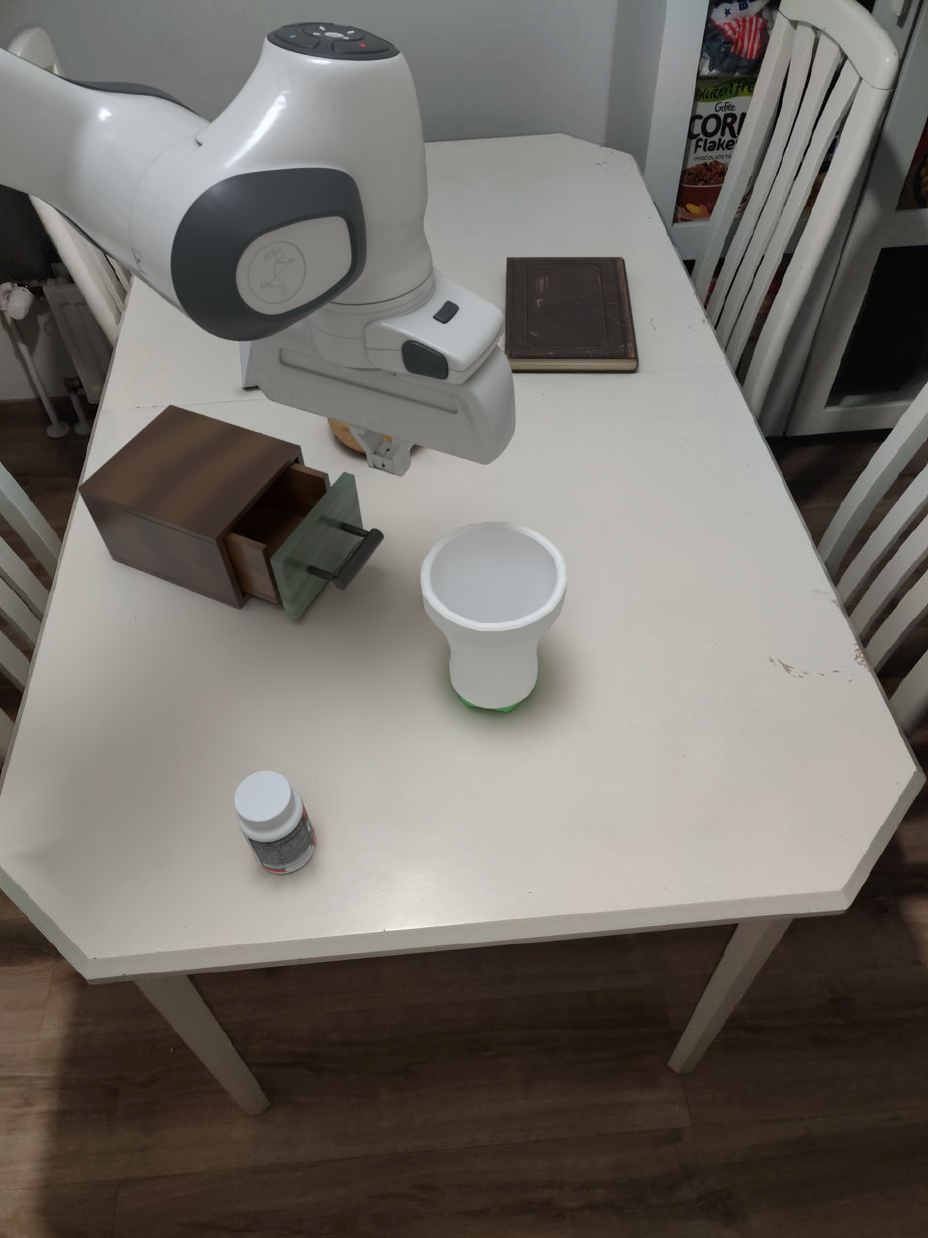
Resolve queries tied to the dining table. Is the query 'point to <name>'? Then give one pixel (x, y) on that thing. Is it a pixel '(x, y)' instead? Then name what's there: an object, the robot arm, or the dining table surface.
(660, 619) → the dining table surface
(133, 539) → the cabinet
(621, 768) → the dining table surface
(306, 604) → the drawer
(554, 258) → the hardcover book
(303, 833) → the pill bottle
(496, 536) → the cup
